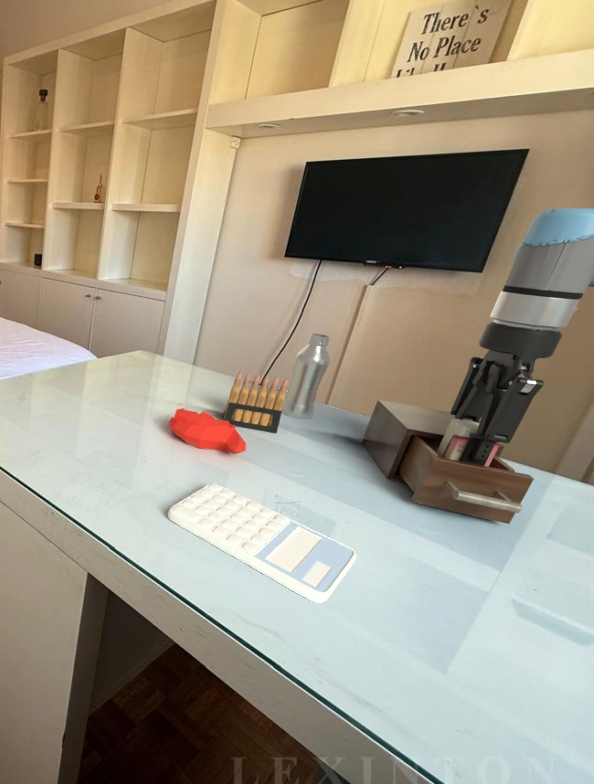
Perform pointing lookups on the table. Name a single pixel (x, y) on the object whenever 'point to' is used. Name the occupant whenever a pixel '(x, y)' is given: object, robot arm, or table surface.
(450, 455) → the small box
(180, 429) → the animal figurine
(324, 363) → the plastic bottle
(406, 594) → the table surface
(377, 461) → the cabinet
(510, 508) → the drawer
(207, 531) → the calculator
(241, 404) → the ammunition clip
